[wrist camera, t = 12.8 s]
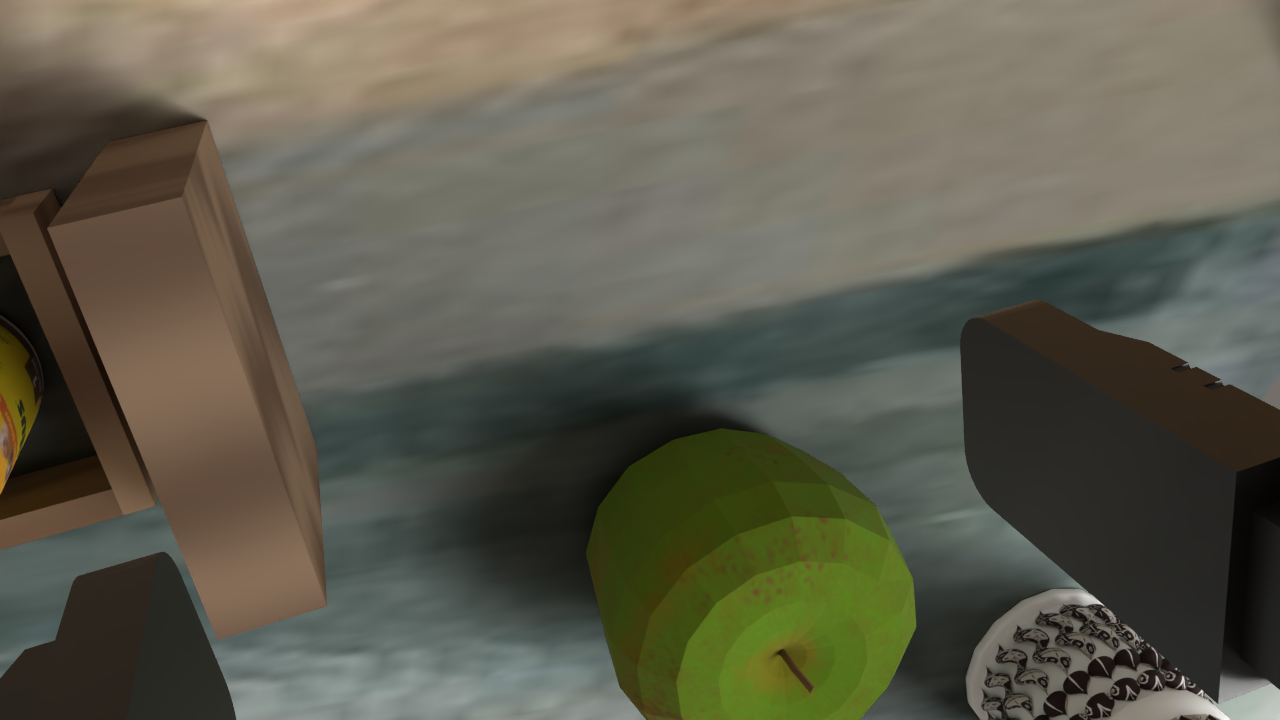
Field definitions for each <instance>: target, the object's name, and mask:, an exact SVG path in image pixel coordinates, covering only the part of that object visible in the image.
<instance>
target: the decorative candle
mask: <svg viewBox="0 0 1280 720" xmlns="http://www.w3.org/2000/svg"><path fill="white" fill-rule="evenodd" d="M965 679H966V689H967V700H968V703H969V705H970V706H971V708H972V709H973V710H974V712H975V713H976V714H977V716H978V717H979V718H980V720H1230V719H1229V718H1228V717H1227V716H1226V715H1225V714H1223V713H1222V712H1221V711H1220V710H1219V709H1218V708H1216V707H1215V706H1214V704H1213V703H1212V701H1211V700H1210V699H1209V698H1207V697H1205V696H1204V694H1205V692H1204V691H1202V690H1201V689H1200V688H1199V687H1198V686H1197V685H1196V684H1194V683H1193V682H1192V681H1191V680H1190V679H1189V680H1187V678H1186V676H1185V675H1184V674H1183V673H1182V672H1180V671H1179V670H1178V669H1177V668H1176V667H1175V666H1174V665H1172V664H1171V663H1170V662H1169V661H1168V660H1167V659H1162V657H1161V655H1160V654H1159V653H1158V652H1157V651H1155V650H1154V648H1153V647H1152V646H1150V645H1149V644H1148V643H1147V642H1146V641H1145V640H1143V639H1142V638H1141V637H1140V636H1139V635H1138V634H1136V633H1135V632H1134V631H1133V630H1132V629H1131V628H1130V627H1128V626H1127V625H1126V624H1125V623H1124V622H1123V621H1121V620H1120V619H1119V618H1118V617H1117V616H1116V615H1114V614H1113V613H1112V612H1111V611H1110V610H1109V609H1108V608H1106V607H1105V606H1104V605H1103V604H1102V603H1101V602H1099V601H1098V600H1097V599H1096V598H1095V597H1094V596H1093V595H1091V594H1089V593H1087V592H1085V591H1083V590H1081V589H1050V590H1048V591H1045V592H1042V593H1040V594H1037V595H1035V596H1032V597H1029V598H1027V599H1024V600H1022V601H1020V602H1019V603H1018V604H1017V605H1015V606H1014V607H1013V608H1011V609H1010V610H1009V611H1008V612H1006V613H1005V614H1004V615H1002V616H1001V617H1000V618H998V619H997V620H996V621H995V622H994V623H993V624H992V626H991V627H990V628H989V630H988V631H987V632H986V634H985V635H984V637H983V638H982V639H981V641H980V642H979V643H978V645H977V646H976V647H975V649H974V652H973V655H972V658H971V661H970V664H969V667H968V670H967V674H966V677H965Z"/></svg>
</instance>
